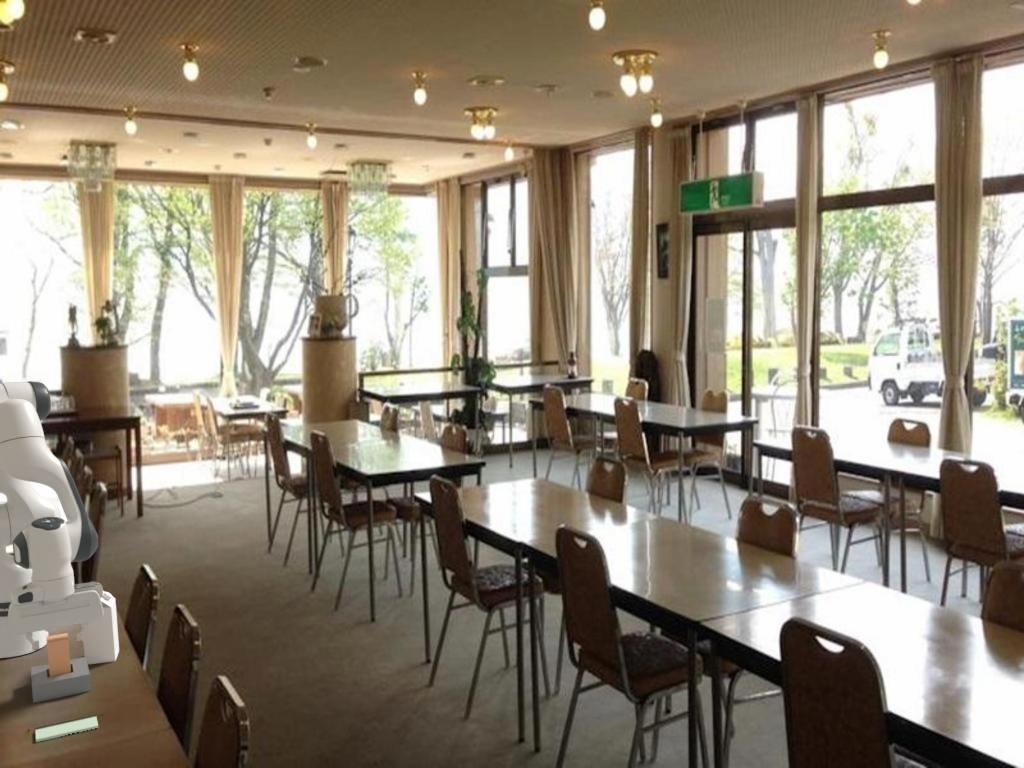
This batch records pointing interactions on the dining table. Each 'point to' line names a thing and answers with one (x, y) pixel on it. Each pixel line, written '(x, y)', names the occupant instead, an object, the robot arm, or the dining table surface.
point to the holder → (60, 681)
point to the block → (58, 654)
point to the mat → (66, 728)
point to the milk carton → (103, 634)
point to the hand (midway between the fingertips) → (58, 645)
